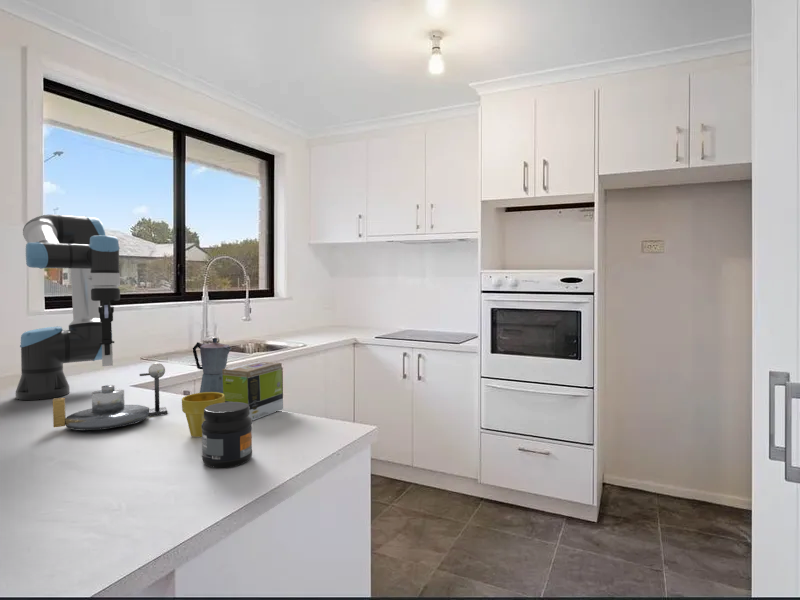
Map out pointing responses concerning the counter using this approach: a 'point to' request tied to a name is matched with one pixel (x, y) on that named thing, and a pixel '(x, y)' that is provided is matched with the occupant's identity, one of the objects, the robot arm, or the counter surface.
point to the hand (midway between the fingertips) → (107, 365)
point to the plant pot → (199, 409)
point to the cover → (107, 399)
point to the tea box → (255, 387)
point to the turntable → (97, 417)
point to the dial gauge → (156, 387)
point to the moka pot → (212, 365)
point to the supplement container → (226, 434)
